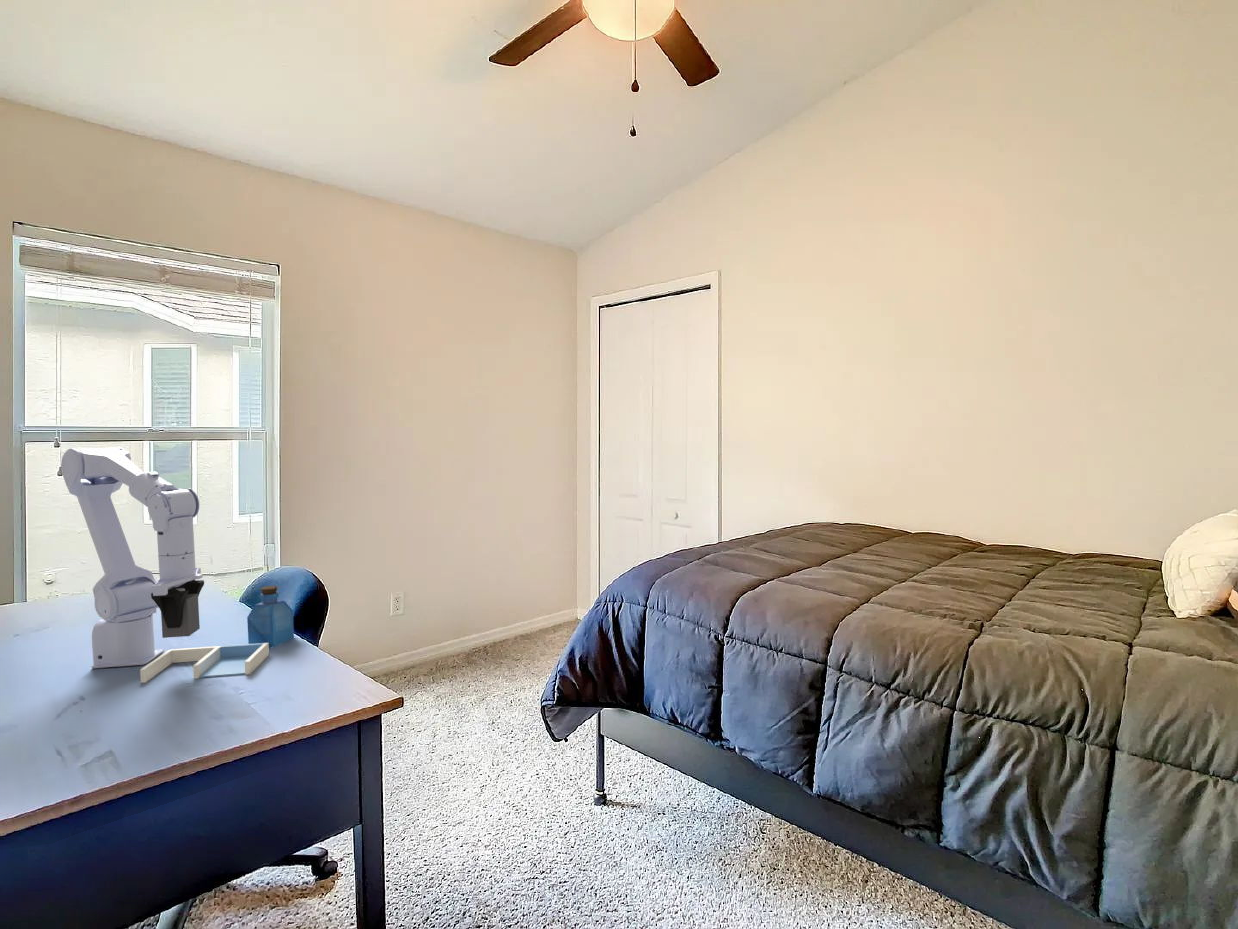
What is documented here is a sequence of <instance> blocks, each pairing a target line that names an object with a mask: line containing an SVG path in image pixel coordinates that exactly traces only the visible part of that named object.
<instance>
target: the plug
mask: <svg viewBox="0 0 1238 929" xmlns="http://www.w3.org/2000/svg"><path fill="white" fill-rule="evenodd" d="M177 590H179V591H185V589H184V588H179V589H177ZM199 608H200V607H199V596H198V594H187V596H186V599H185V602H184V607H183V618H182V624H181V627H179V628H167V626H166V623H165V621H164V618H163V615H162V613H161V612H160V617H161V618H160V619H161V620H160V621H161V633H162V639H165V638H166V639H167V638H178V637H179V638H180V637H181V638H182V637H190V636H191V635H193V634H195V633H196V632H197V631H199V630H200V627H201V626H200V625H201V624H200V612H199V611H200V610H199Z"/></svg>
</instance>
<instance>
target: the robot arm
mask: <svg viewBox="0 0 1238 929" xmlns="http://www.w3.org/2000/svg"><path fill="white" fill-rule="evenodd" d="M60 472H61V475H62V478H63V480H64V483H65V486H66V488H67V490H68V493H69V494H70V495H73V496H75V497H76V498H77V501H78V503H79V507H80V508H81V511H82V514H83V518H84V521H85V523H86V527H87V529H88V531H89V534H90V537H91V541H92V542H93V545H94V547H95V548H94V549H95V551H96V554H97V555H98V559H99V562H100V565H101V567H102V570H103V573H104V575H103V576H102V577H101V578H100V579H99V580H97V582H96V583H95V585H94V586H93V588H92V592H93V597H94V609H95V612H96V614H97V615H98V616H99V617H100V619H99V620H97V621H96V622H95V623H94V625H93V627H92V631H91V644H92V645H91V646H92V647H91V648H92V659H93V660H92V662H93V664H92V665H91V666H90V667H91V669H102V668H117V667H130V666H143V665H147V664H149V663H150V662H152V661H153V660H155V659H156V658H157V657H159V656H160V655H162V654H163V653H165V652H164V651H165V649H164V648H159V649H155V648H156V647H155V632H154V615H153V614H156V613H157V609H158V608H159V610H160V614H161V613H162V615H163V618H164V621H165V623H166V626H167V628H179V627H181V624H182V618H183V607H184V602H185V599H186V596H187V594H198V597H199V596H200V593H201V591H202V589H203V588H204V586H205V580H203V577H204V575H203V573H202V572H201V567H196V554H195V536H194V534H195V533H194V518H195V517H196V516H197V515H198V513H199V511H200V500H199V497H198V495H197V493H196V492H195V491H194V490H193V489H192V488H189V487H185V488H177V486H175V485H174V484H173V483H171V482H169V481H168V480H166V479H165V478H163V477H161V476H160V473H158V472H157V471H146V472H144V471H143V470H142V469H141V468H139V466H137V465H136V464H135V463H133V462H132V457H131V453H130V452H129V451H127V450H126V449H125V448H124V447H122V446H115V447H103V448H101V447H100V448H97V447H96V448H77V449H76V448H68V449H67V450H66V451H65V452H64V453H63V455H62V458H61V463H60ZM123 485H125V486H127V487H128V492H129V494H130V496H131V497H133V498H134V499H135V500H137V501H138V502H140V503H141V504H142V505H144V506H145V507H147V511H148V514H149V517H150V519H151V520H152V528H153V531H155V532H156V536H157V538H156V539H157V540H156V541H157V553H158V554H157V555H158V571H159V572H158V573H159V577H158V578H157V580H156V578H155V577H154V574H153V572H152V571H151V570H149V569H147V568H143V567H140V566H138V565H136V563H135V560H134V557H133V555H132V552H131V549H130V547H129V544H128V542H127V538H126V536H125V533H124V530H123V528H122V525H121V522H120V519H119V516H118V514H117V510H116V509H115V506H114V503H113V501H112V494H113V493H116V492H117V491H119V490H120V489H121V487H122V486H123ZM179 588H184V589H185V591H179V590H177V589H179Z"/></svg>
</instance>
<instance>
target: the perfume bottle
mask: <svg viewBox="0 0 1238 929" xmlns="http://www.w3.org/2000/svg"><path fill="white" fill-rule="evenodd" d="M260 590H261V593H259V594H260V600H261V602H257V603H256V604H254V606H253V607H252V609H251V611H249V614H248V616H247V617H246V618H247V637H248V638H247V641H248V643H247V644H256V643H269V648H275V647H277V646H279V645H282V644H284V643H286V642H288V641H290V640H292V639H294V638H295V635H294V633H295V632H294V610H293V609H292V608H291V606H290V605H289V604H288V603H287V602H286V601H285V600H284V599H283V600H280V599H278V598H279V597H280V596H279V591H277V590H278V586H277V585H268V586H267V585H266V586H263V587H261V588H260Z"/></svg>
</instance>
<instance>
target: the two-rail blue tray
mask: <svg viewBox="0 0 1238 929" xmlns="http://www.w3.org/2000/svg"><path fill="white" fill-rule="evenodd" d="M269 655H270V647H269V643H256V644H249V643H245V644H244V643H243V644H229V645H217V646H216V645H215V646H200V647H186V648H176V649H175V648H172V649H171V648H170V649H168V650H166V651H165V652H162V653H161V654H159V655H158V656H156V657H155V658H154V659H152V660H151V661H149V662H148V663H146V664H145V666H143V667H142V668H140V670H139V674H140V675H139V676H140V683H141V684H142V683H148V681H150V680H151V679H153V678H155V676H156V675H158V674H159V673H160V672H162V671H163V670H164V669H166V668H167V667H168V666H170V665H172V664H174V663H188V662H195V663H194V664H193V665H192V668H193V670H192V671H193V673H192V674H193V679H194V680H195V679H197V680H198V679H202V678H217V677H229V676H231V677H232V676H241V675H242V676H243V675H246V676H247V675H251V674H252V673H253V672H254V671H255V670H256V669H257V667H259V665H261V664H262V662H263V661H265V659H266V658H267V657H268V656H269Z"/></svg>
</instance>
